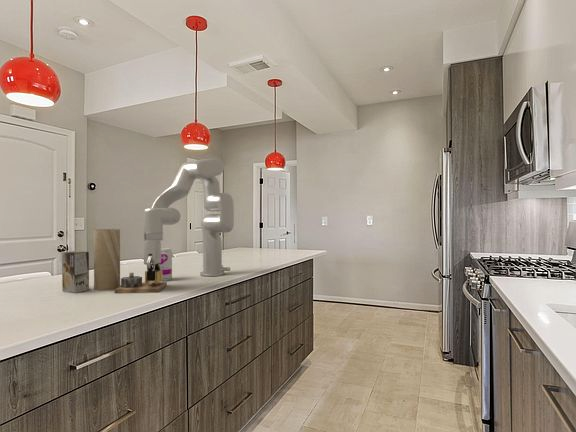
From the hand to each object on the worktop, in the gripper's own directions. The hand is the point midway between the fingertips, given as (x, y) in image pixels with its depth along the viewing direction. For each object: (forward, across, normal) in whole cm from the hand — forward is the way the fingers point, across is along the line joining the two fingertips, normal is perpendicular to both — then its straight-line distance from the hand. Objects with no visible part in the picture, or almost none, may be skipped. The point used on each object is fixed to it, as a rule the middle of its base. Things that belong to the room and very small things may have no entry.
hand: (153, 278), depth 152 cm
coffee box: (+4, +1, -31) cm, 31 cm away
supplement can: (+4, -20, -1) cm, 20 cm away
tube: (+4, -3, -20) cm, 21 cm away
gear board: (+4, +1, -5) cm, 6 cm away
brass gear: (+1, 0, 0) cm, 1 cm away
